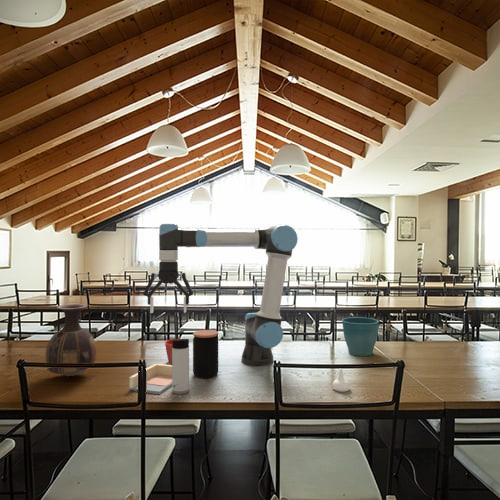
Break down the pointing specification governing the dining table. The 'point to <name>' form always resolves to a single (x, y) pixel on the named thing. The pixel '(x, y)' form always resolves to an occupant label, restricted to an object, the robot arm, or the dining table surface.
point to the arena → (155, 379)
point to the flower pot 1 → (169, 349)
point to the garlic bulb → (340, 383)
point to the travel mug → (180, 366)
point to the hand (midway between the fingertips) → (168, 312)
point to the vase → (71, 343)
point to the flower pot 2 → (360, 335)
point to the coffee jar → (205, 354)
